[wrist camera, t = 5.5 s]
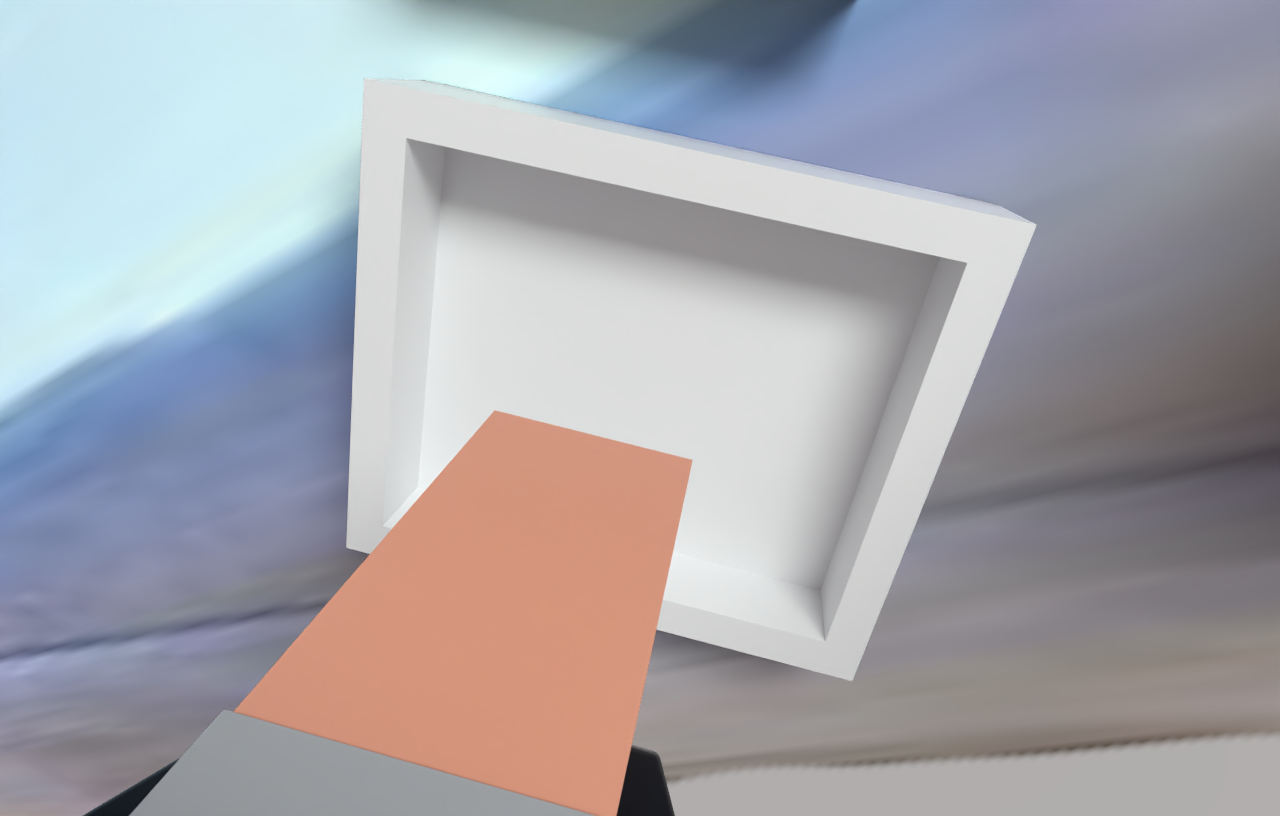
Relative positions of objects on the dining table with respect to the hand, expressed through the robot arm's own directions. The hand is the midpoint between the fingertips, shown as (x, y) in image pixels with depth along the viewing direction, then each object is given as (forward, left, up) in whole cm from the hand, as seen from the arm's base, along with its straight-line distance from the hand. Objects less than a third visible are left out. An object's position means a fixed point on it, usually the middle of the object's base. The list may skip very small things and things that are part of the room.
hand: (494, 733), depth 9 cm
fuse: (0, 0, -4) cm, 4 cm away
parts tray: (0, 0, -13) cm, 13 cm away
